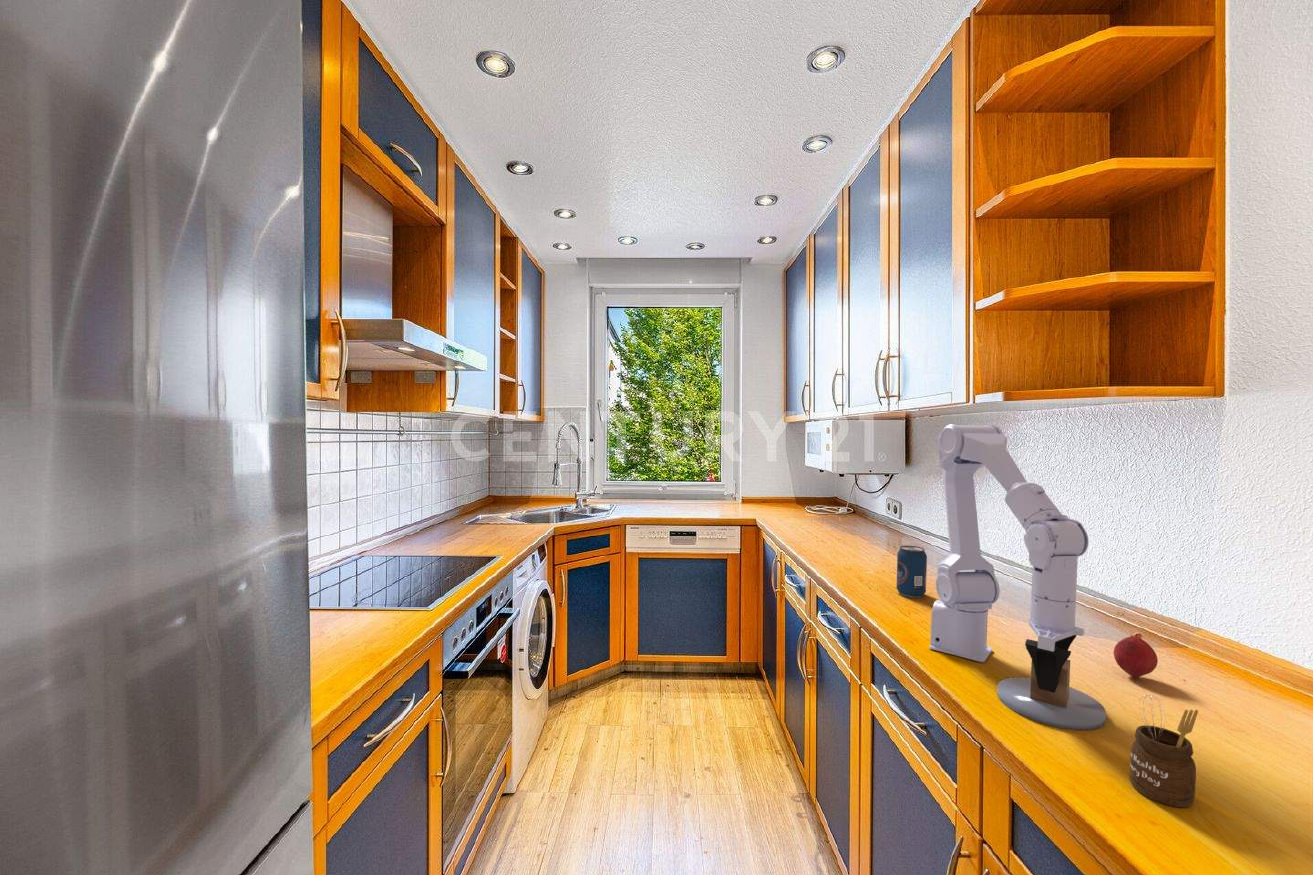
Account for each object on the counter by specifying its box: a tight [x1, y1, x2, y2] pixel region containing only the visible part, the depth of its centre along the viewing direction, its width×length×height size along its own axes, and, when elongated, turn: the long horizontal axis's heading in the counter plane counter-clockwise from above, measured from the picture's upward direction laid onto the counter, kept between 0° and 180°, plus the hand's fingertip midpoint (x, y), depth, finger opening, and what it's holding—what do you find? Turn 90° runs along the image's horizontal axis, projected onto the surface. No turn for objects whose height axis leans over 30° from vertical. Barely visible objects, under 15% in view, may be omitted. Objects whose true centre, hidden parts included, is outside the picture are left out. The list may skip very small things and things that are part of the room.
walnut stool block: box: [1030, 659, 1071, 709], centre depth 88 cm, size 5×5×6 cm
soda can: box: [896, 545, 928, 599], centre depth 144 cm, size 7×7×12 cm
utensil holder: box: [1129, 694, 1199, 808], centre depth 68 cm, size 6×6×12 cm
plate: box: [996, 676, 1107, 731], centre depth 89 cm, size 14×14×1 cm
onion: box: [1113, 632, 1159, 679], centre depth 98 cm, size 6×6×8 cm
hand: (1050, 681), depth 88 cm, fingers open, 7 cm apart
